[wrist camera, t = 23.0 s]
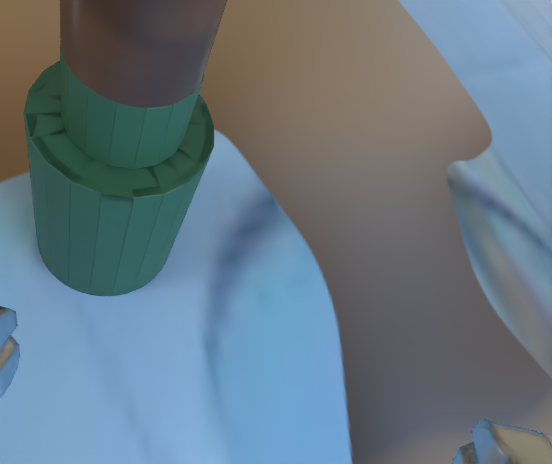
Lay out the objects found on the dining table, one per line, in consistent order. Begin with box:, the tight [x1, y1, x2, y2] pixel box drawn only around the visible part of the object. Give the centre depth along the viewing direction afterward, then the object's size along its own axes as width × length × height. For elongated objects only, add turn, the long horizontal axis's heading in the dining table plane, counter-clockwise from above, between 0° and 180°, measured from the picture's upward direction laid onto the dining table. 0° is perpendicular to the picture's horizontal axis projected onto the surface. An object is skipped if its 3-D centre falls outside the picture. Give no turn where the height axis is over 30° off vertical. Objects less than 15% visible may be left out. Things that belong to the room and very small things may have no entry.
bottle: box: [24, 45, 214, 296], centre depth 26 cm, size 8×8×16 cm
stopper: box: [60, 0, 227, 108], centre depth 18 cm, size 5×5×11 cm
